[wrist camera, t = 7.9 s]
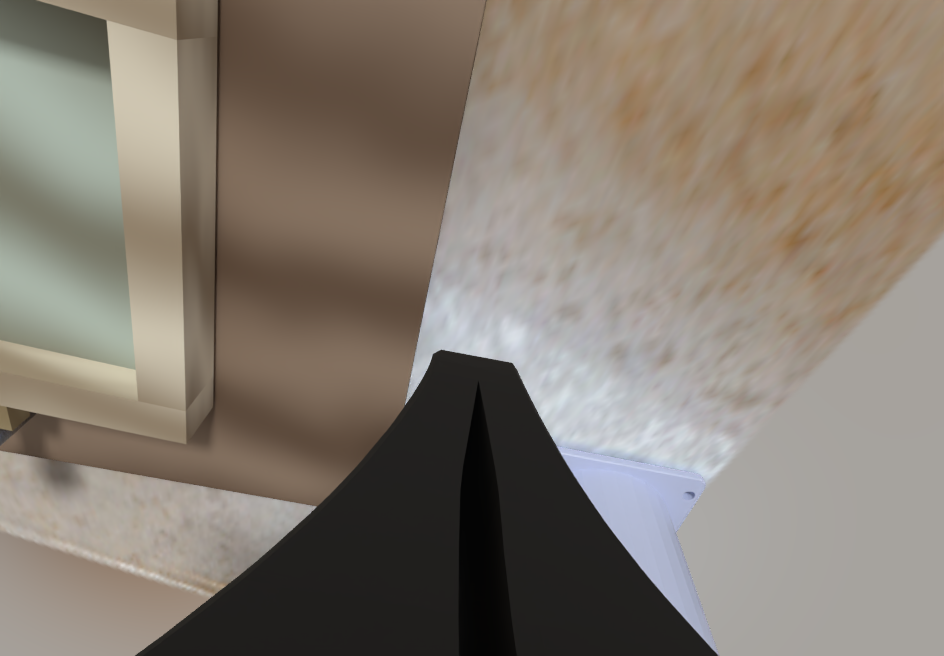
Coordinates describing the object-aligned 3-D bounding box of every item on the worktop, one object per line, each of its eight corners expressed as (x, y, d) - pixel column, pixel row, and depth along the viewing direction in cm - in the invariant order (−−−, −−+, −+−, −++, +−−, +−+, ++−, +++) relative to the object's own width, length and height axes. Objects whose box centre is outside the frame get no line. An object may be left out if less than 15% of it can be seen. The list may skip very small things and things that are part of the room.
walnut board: (386, 495, 24) (381, 517, 23) (-187, 392, 22) (-222, 411, 21) (521, -174, 12) (524, -191, 11) (-680, -526, 10) (-813, -588, 9)
